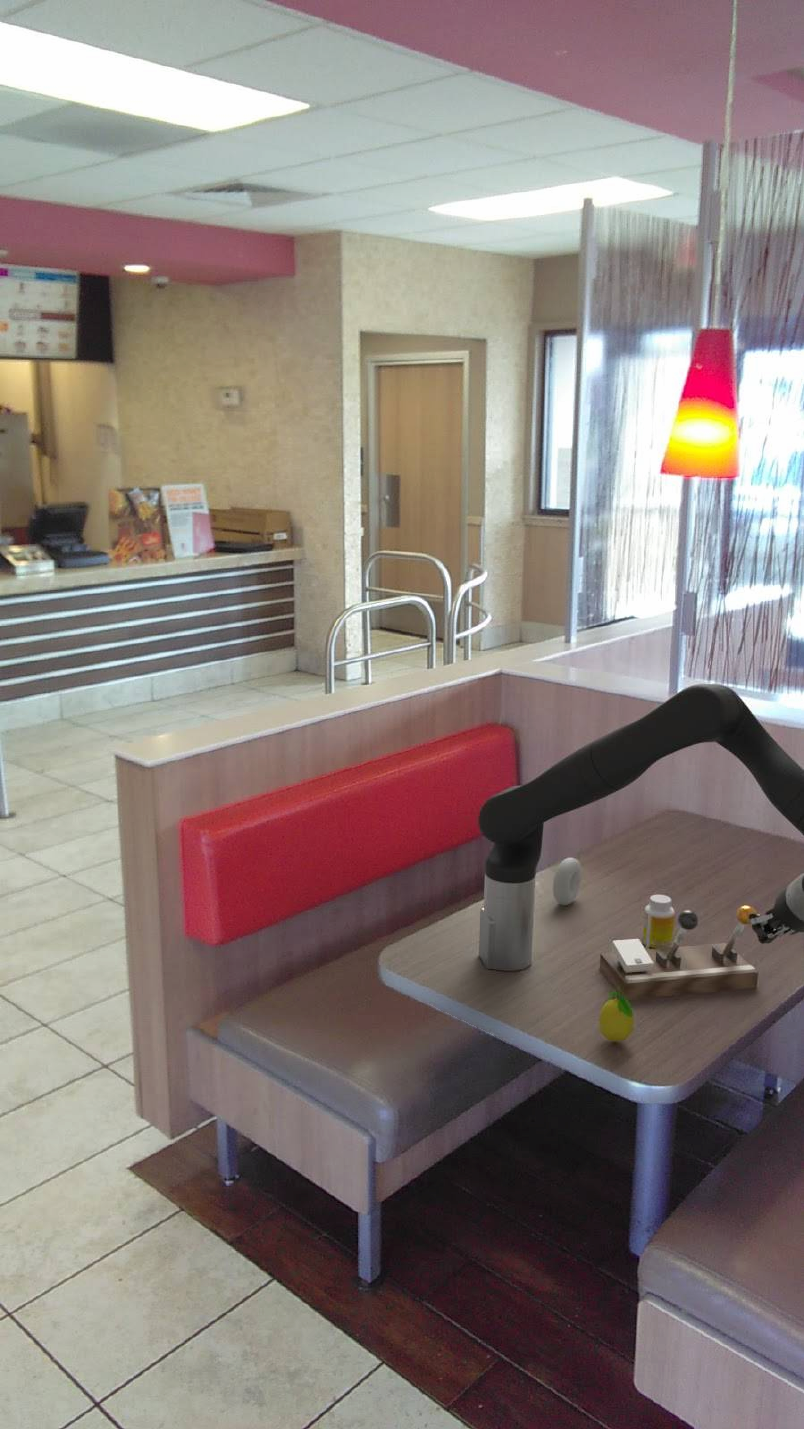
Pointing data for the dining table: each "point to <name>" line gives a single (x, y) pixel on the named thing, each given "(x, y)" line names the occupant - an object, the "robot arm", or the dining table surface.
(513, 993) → the dining table surface
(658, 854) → the dining table surface
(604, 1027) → the lemon
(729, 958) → the panel
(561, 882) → the donut
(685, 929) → the lever black
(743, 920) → the lever orange
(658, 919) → the supplement bottle
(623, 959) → the block
